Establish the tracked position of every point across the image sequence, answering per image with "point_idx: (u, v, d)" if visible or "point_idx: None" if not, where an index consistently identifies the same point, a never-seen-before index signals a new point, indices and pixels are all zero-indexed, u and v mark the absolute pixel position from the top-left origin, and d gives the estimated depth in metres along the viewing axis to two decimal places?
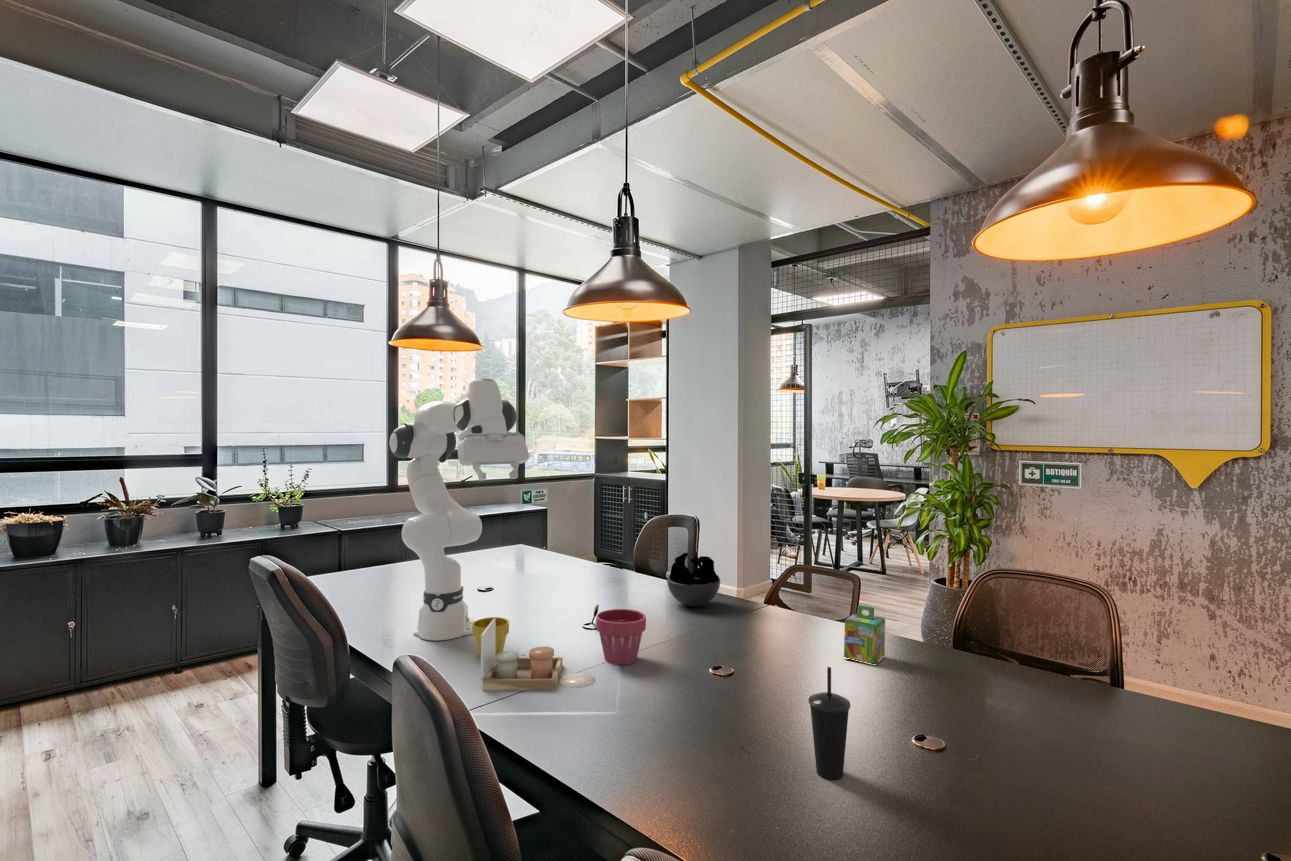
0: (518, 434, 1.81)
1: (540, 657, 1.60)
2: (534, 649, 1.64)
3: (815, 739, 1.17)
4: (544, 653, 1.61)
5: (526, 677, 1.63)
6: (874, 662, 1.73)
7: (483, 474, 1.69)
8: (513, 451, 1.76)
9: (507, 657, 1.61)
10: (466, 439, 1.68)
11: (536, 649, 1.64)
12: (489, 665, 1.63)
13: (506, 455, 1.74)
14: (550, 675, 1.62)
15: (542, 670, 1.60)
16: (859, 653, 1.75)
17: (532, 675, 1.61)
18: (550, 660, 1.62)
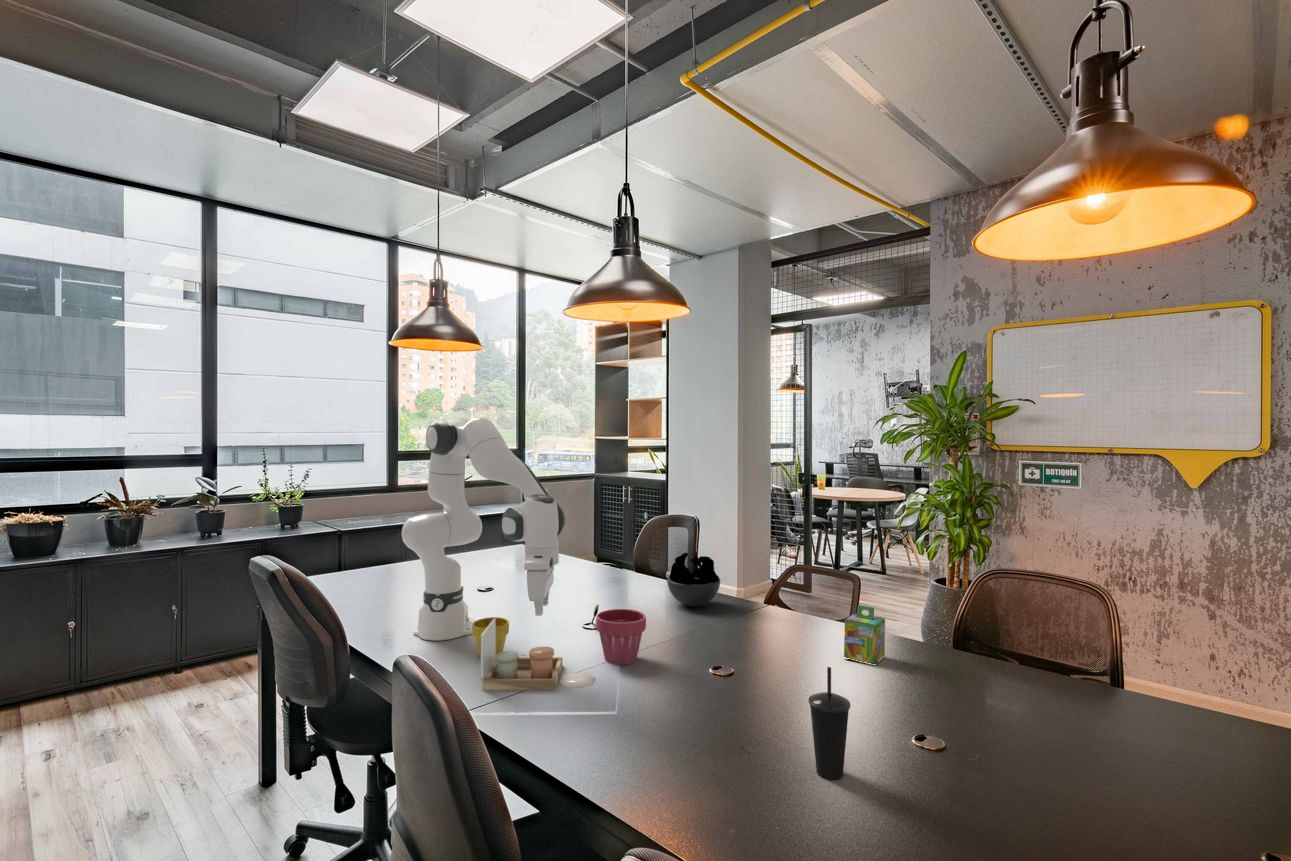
0: None
1: (540, 657, 1.60)
2: (534, 649, 1.64)
3: (815, 739, 1.17)
4: (544, 653, 1.61)
5: (526, 677, 1.63)
6: (874, 662, 1.73)
7: (542, 610, 1.58)
8: (551, 577, 1.68)
9: (507, 657, 1.61)
10: (546, 575, 1.54)
11: (536, 649, 1.64)
12: (489, 665, 1.63)
13: (550, 584, 1.66)
14: (550, 675, 1.62)
15: (542, 670, 1.60)
16: (859, 653, 1.75)
17: (532, 675, 1.61)
18: (550, 660, 1.62)
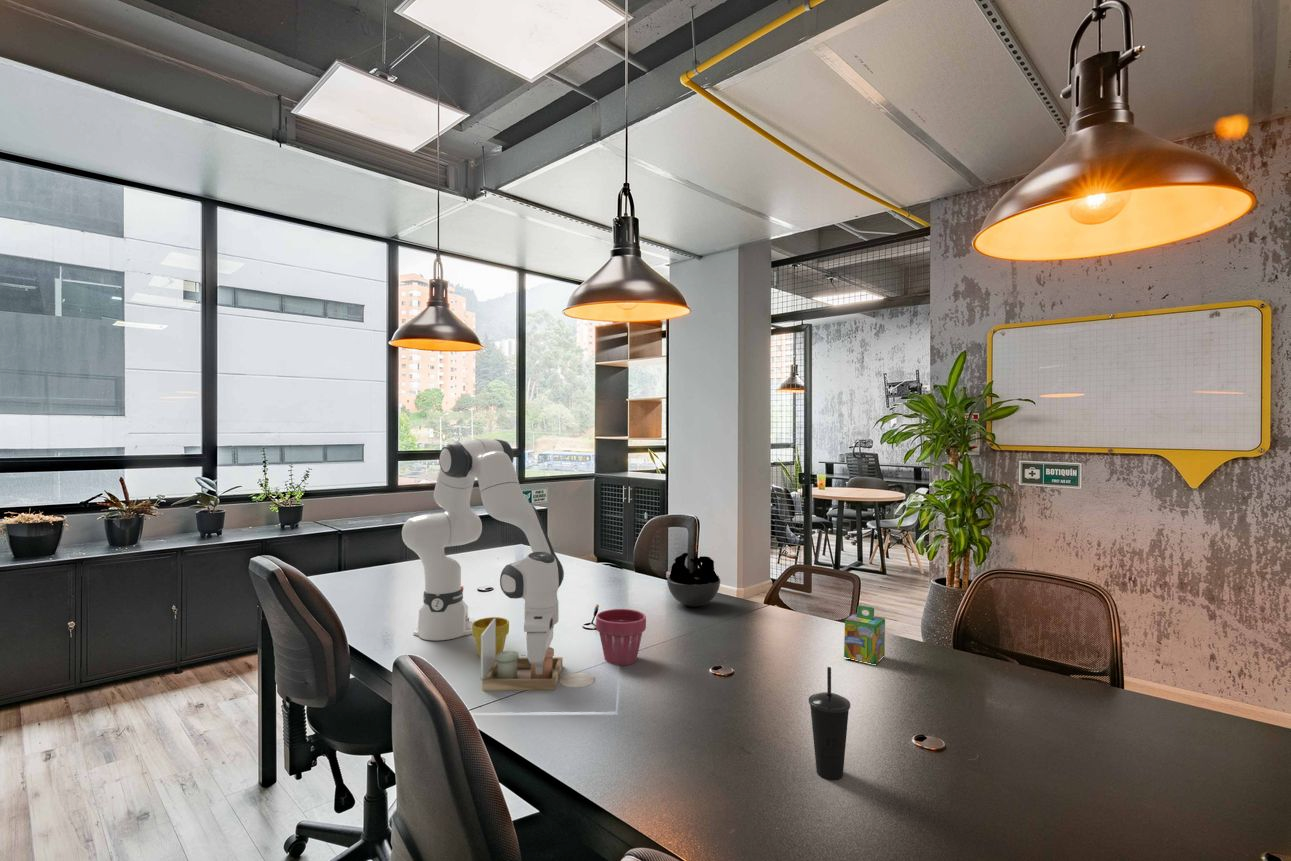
0: None
1: None
2: None
3: (815, 739, 1.17)
4: None
5: (526, 677, 1.63)
6: (874, 662, 1.73)
7: (542, 668, 1.59)
8: (551, 633, 1.68)
9: (507, 657, 1.61)
10: (545, 637, 1.54)
11: None
12: (489, 665, 1.63)
13: (549, 641, 1.66)
14: (550, 675, 1.62)
15: None
16: (859, 653, 1.75)
17: (532, 675, 1.61)
18: (550, 660, 1.62)
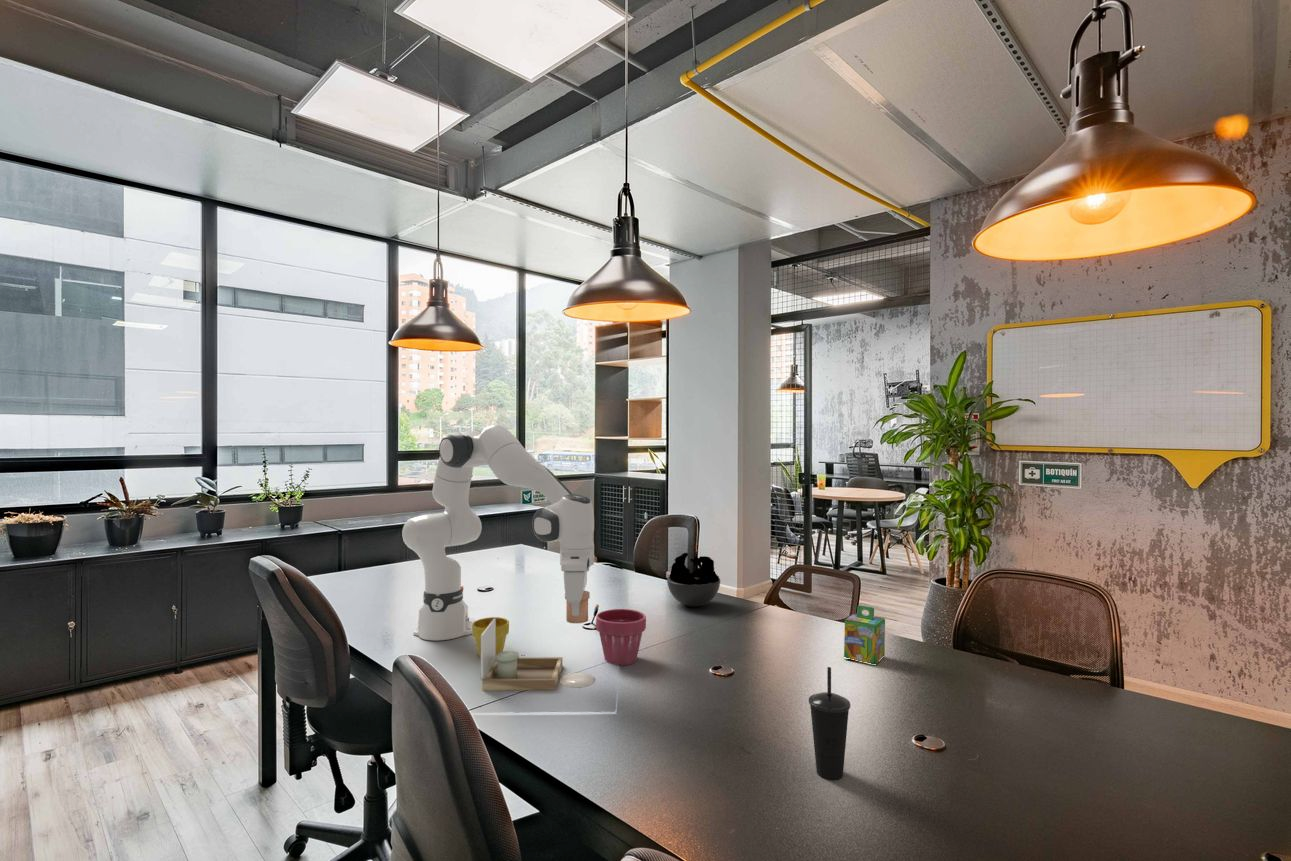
0: None
1: None
2: None
3: (815, 739, 1.17)
4: None
5: (526, 677, 1.63)
6: (874, 662, 1.73)
7: (579, 610, 1.58)
8: (585, 578, 1.66)
9: (507, 657, 1.61)
10: (583, 576, 1.52)
11: None
12: (489, 665, 1.63)
13: None
14: (586, 617, 1.60)
15: None
16: (859, 653, 1.75)
17: (568, 617, 1.59)
18: (586, 602, 1.60)
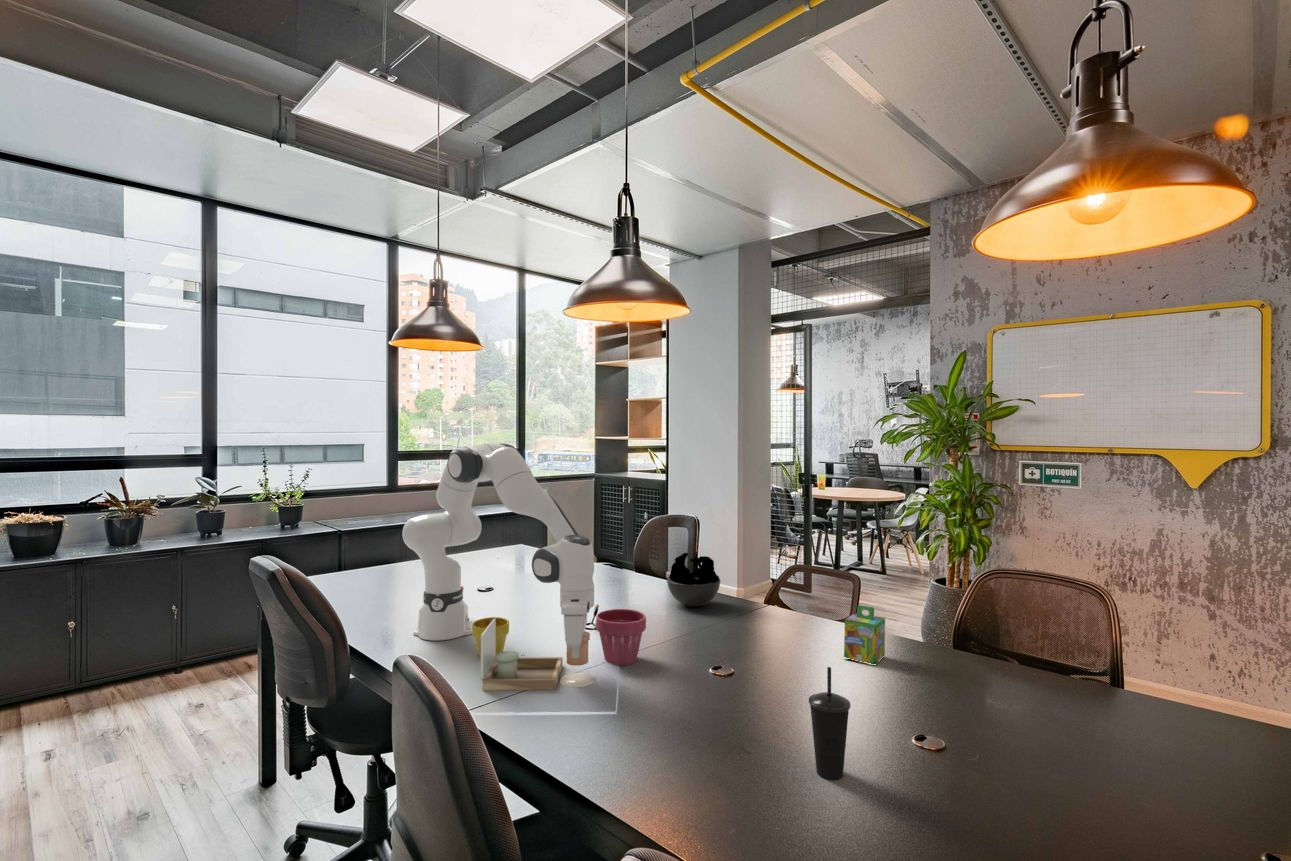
0: None
1: None
2: None
3: (815, 739, 1.17)
4: None
5: (526, 677, 1.63)
6: (874, 662, 1.73)
7: (579, 652, 1.58)
8: (585, 618, 1.66)
9: (507, 657, 1.61)
10: (583, 620, 1.52)
11: None
12: (489, 665, 1.63)
13: None
14: (586, 659, 1.60)
15: None
16: (859, 653, 1.75)
17: (568, 659, 1.59)
18: (586, 644, 1.60)
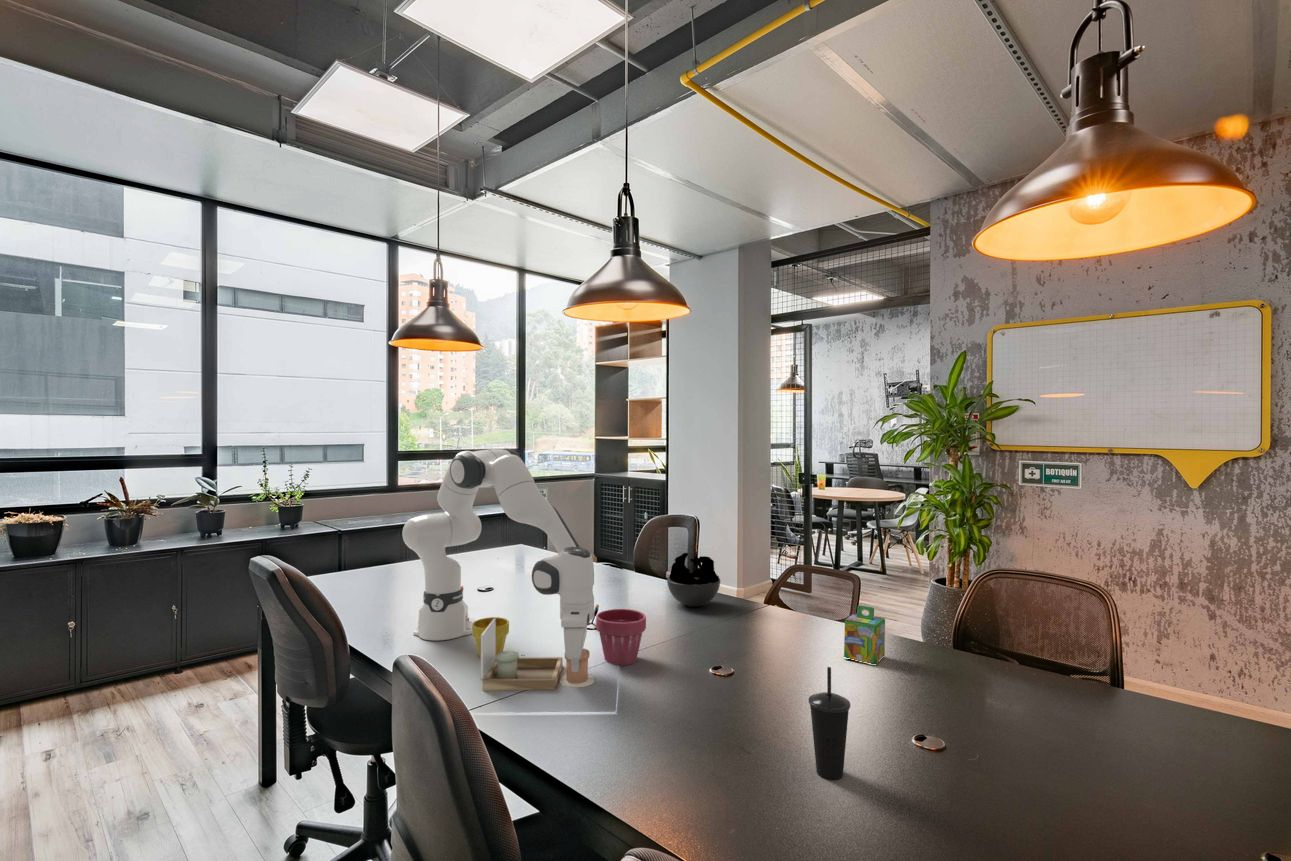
0: None
1: None
2: None
3: (815, 739, 1.17)
4: None
5: (526, 677, 1.63)
6: (874, 662, 1.73)
7: (578, 665, 1.57)
8: (585, 629, 1.66)
9: (507, 657, 1.61)
10: (583, 633, 1.52)
11: None
12: (489, 665, 1.63)
13: None
14: (585, 677, 1.60)
15: (578, 672, 1.58)
16: (859, 653, 1.75)
17: (568, 677, 1.59)
18: (586, 662, 1.60)
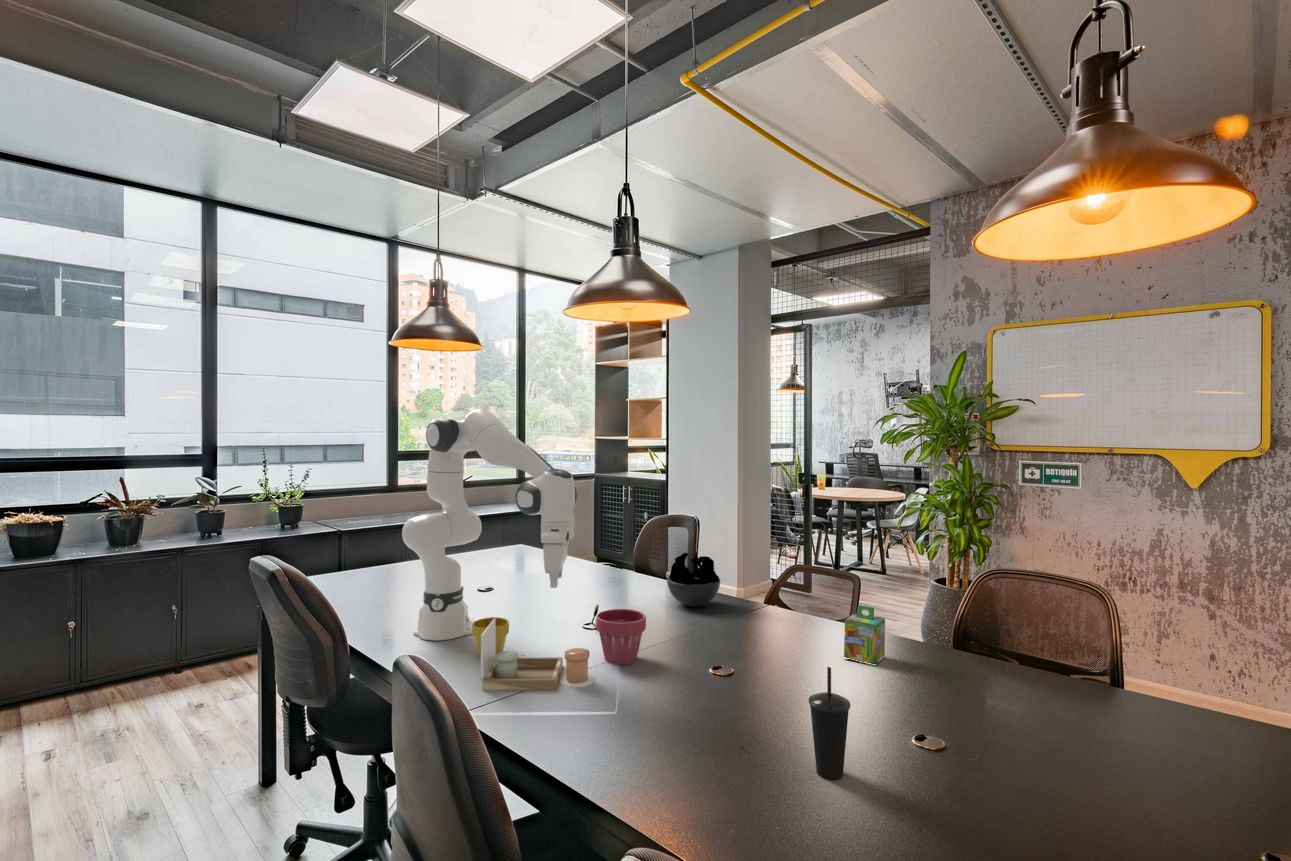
0: None
1: (576, 659, 1.58)
2: (569, 651, 1.62)
3: (815, 739, 1.17)
4: (580, 655, 1.59)
5: (526, 677, 1.63)
6: (874, 662, 1.73)
7: (557, 582, 1.61)
8: (565, 550, 1.71)
9: (507, 657, 1.61)
10: (562, 549, 1.57)
11: (571, 651, 1.62)
12: (489, 665, 1.63)
13: (564, 557, 1.68)
14: (585, 677, 1.60)
15: (578, 672, 1.58)
16: (859, 653, 1.75)
17: (568, 677, 1.59)
18: (586, 662, 1.60)
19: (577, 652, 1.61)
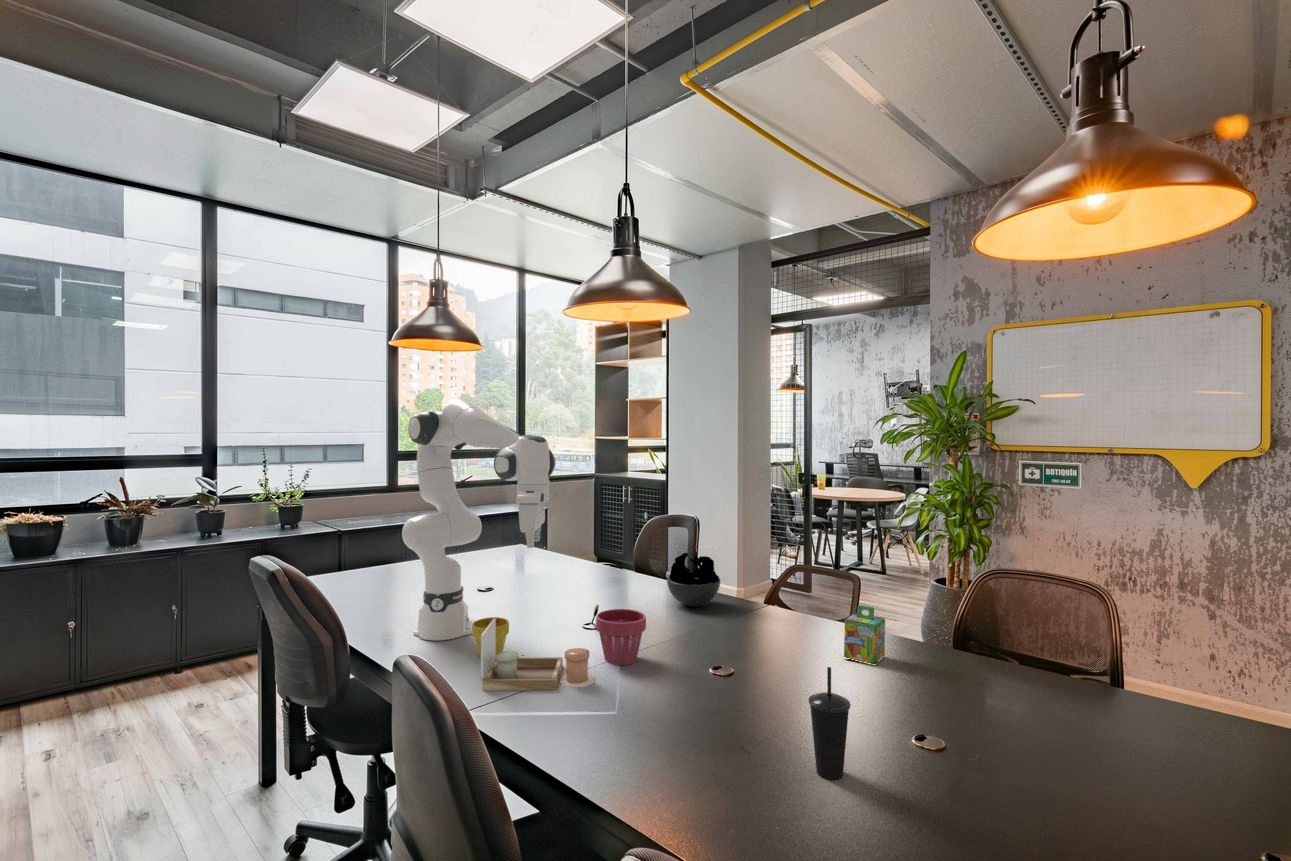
0: None
1: (576, 659, 1.58)
2: (569, 651, 1.62)
3: (815, 739, 1.17)
4: (580, 655, 1.59)
5: (526, 677, 1.63)
6: (874, 662, 1.73)
7: (533, 542, 1.66)
8: (542, 515, 1.76)
9: (507, 657, 1.61)
10: (537, 508, 1.62)
11: (571, 651, 1.62)
12: (489, 665, 1.63)
13: (541, 520, 1.74)
14: (585, 677, 1.60)
15: (578, 672, 1.58)
16: (859, 653, 1.75)
17: (568, 677, 1.59)
18: (586, 662, 1.60)
19: (577, 652, 1.61)
